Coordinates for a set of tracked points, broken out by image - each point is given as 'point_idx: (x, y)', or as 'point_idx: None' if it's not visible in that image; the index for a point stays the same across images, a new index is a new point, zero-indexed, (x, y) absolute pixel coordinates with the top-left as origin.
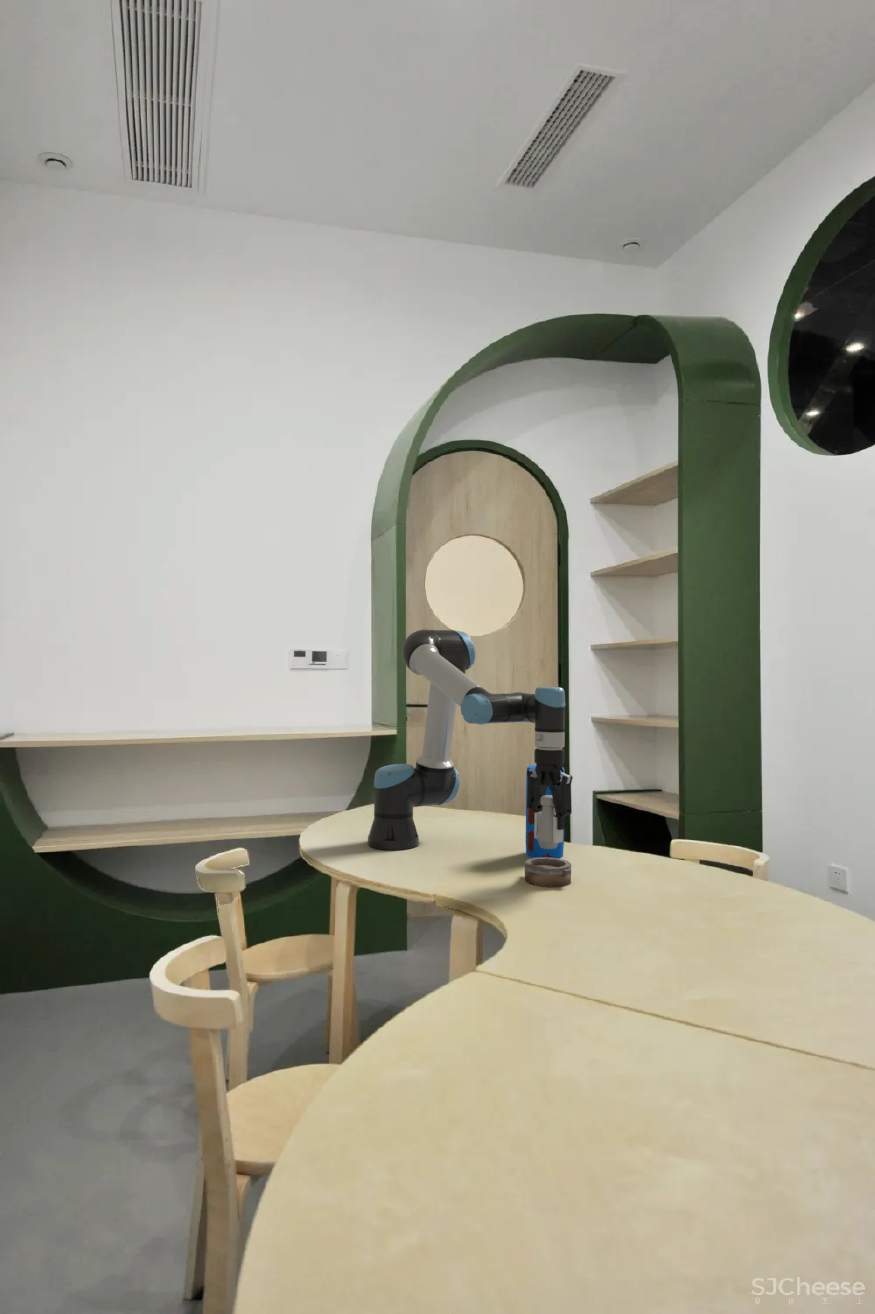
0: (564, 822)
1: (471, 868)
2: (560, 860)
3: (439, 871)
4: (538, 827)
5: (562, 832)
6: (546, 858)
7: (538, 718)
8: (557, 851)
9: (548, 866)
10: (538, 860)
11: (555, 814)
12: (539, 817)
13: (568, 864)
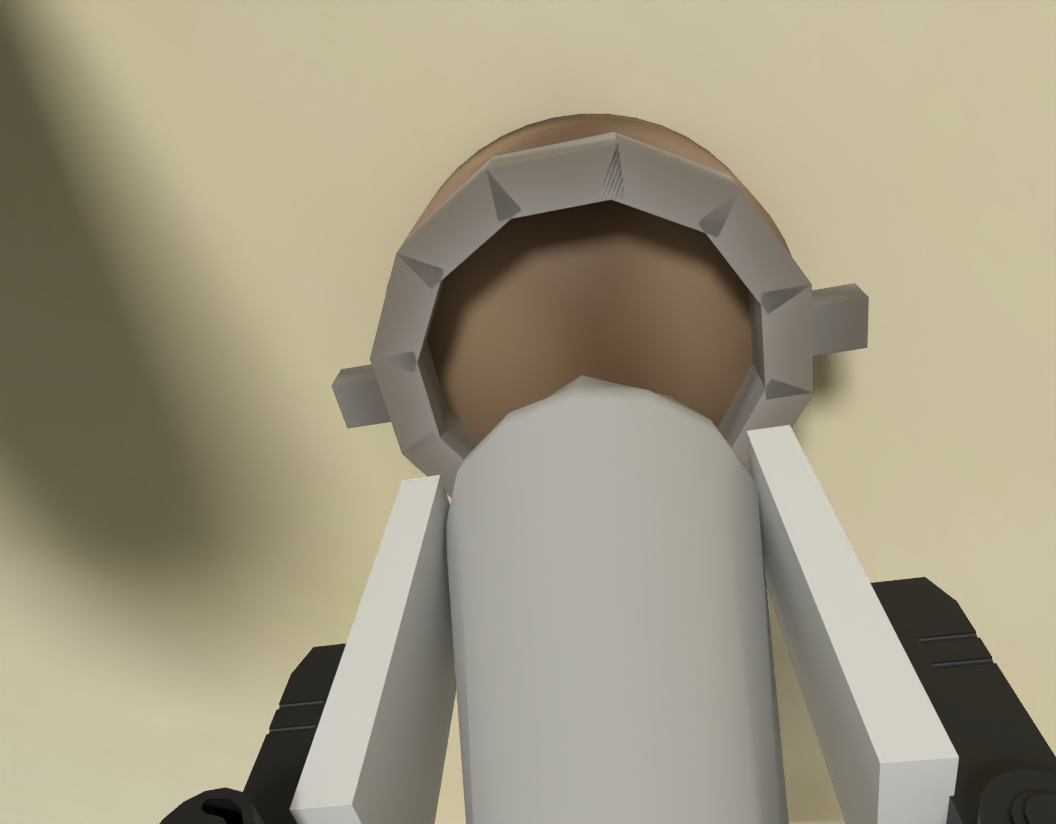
0: (1001, 678)
1: (112, 567)
2: (569, 206)
3: (147, 717)
4: (445, 663)
5: (832, 512)
6: (436, 288)
7: None
8: None
9: (522, 299)
10: (420, 355)
11: (765, 818)
12: (412, 791)
13: (748, 235)
